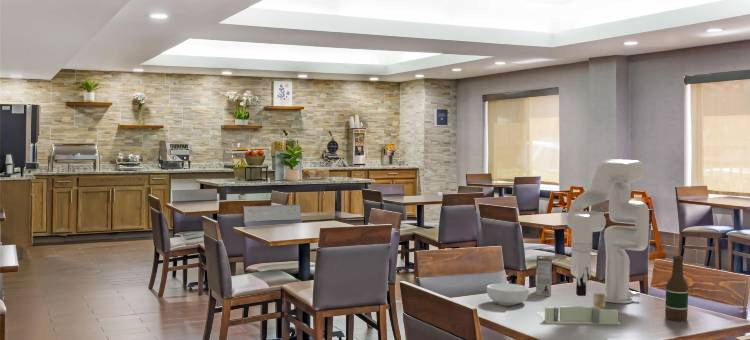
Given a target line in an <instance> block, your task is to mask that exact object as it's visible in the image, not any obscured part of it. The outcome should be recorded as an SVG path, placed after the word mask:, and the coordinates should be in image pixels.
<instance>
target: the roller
mask: <svg viewBox="0 0 750 340" xmlns="http://www.w3.org/2000/svg"><path fill="white" fill-rule="evenodd" d="M605 296H606V295H605V293H601V292H598V293H597V292H596V293H593V297H592V299H593V300H592V306H596V307H597V308H598V309H606V301H605Z"/></svg>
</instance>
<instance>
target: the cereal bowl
mask: <svg viewBox="0 0 750 340" xmlns="http://www.w3.org/2000/svg"><path fill="white" fill-rule="evenodd" d="M486 293H487V296H488V297H489V299H490V300H492V301H493V302H495V303H496V304H497V305H500V306H504V307H505V306H507V307H512V306H515V305H518V304H521V303H523V302H525V301H526V300H527V299H528V297H529V293H530V288H529V287H527V286H526V285H522V284H517V283H516V284H515V283H493V284H488V285H487V286H486Z"/></svg>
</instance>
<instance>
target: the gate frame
mask: <svg viewBox="0 0 750 340" xmlns="http://www.w3.org/2000/svg"><path fill="white" fill-rule="evenodd" d="M536 314H538V315H539V316H540V318H542V319H543V320H544V321H545V322H546V323H547V324H587V325H588V324H592V325H593V324H597V325H598V324H599V325H603V324H604V325H608V324H609V325H621V324H622V323H621V322H620V321H619V309H607V308H605V309H592V321H563V320H560V319H559V315H560V307H556V306H555V307H554V306H553V307H551V306H549V307H544V311H536Z"/></svg>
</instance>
